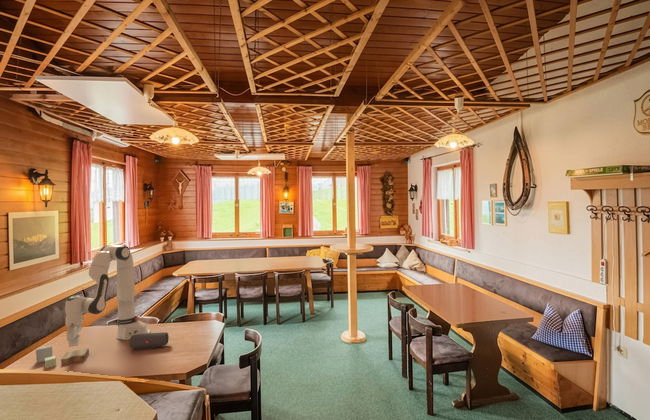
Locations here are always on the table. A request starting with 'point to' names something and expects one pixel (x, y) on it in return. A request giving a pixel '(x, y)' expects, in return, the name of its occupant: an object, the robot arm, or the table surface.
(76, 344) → the cream painted cube
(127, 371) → the table surface
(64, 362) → the walnut block
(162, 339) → the bluetooth speaker
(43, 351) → the medicine box
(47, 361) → the sage painted cube
